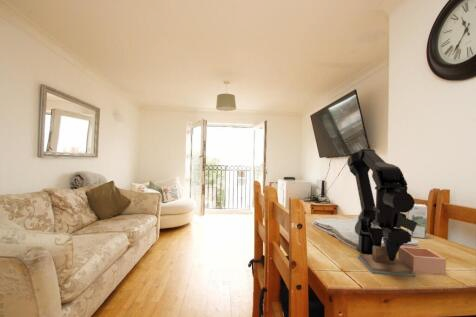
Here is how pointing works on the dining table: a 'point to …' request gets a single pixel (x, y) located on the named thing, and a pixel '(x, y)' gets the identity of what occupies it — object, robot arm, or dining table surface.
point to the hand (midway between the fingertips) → (384, 254)
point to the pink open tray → (422, 260)
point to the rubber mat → (386, 272)
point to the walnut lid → (383, 261)
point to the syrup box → (418, 220)
